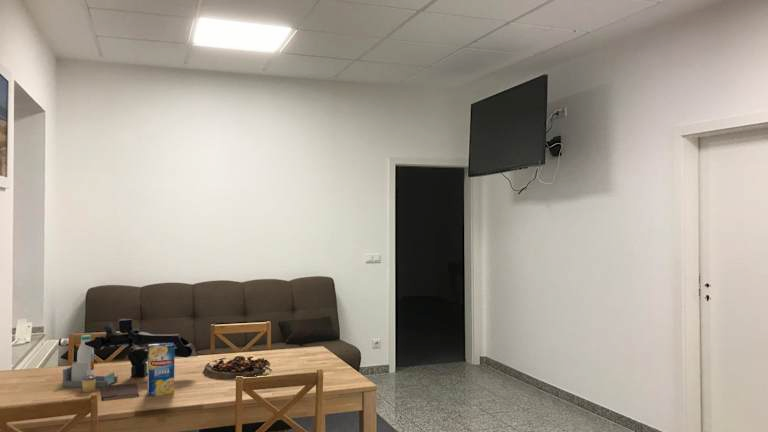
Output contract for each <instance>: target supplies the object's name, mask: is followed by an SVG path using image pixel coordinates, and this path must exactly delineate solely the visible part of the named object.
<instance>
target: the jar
mask: <svg viewBox="0 0 768 432" xmlns="http://www.w3.org/2000/svg"><path fill="white" fill-rule="evenodd" d="M96 376H97V375H94V374H93V375H89V376H84V377H82V387H81V389H82V393H92V392H95V391H96V389H97V387H96Z"/></svg>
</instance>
